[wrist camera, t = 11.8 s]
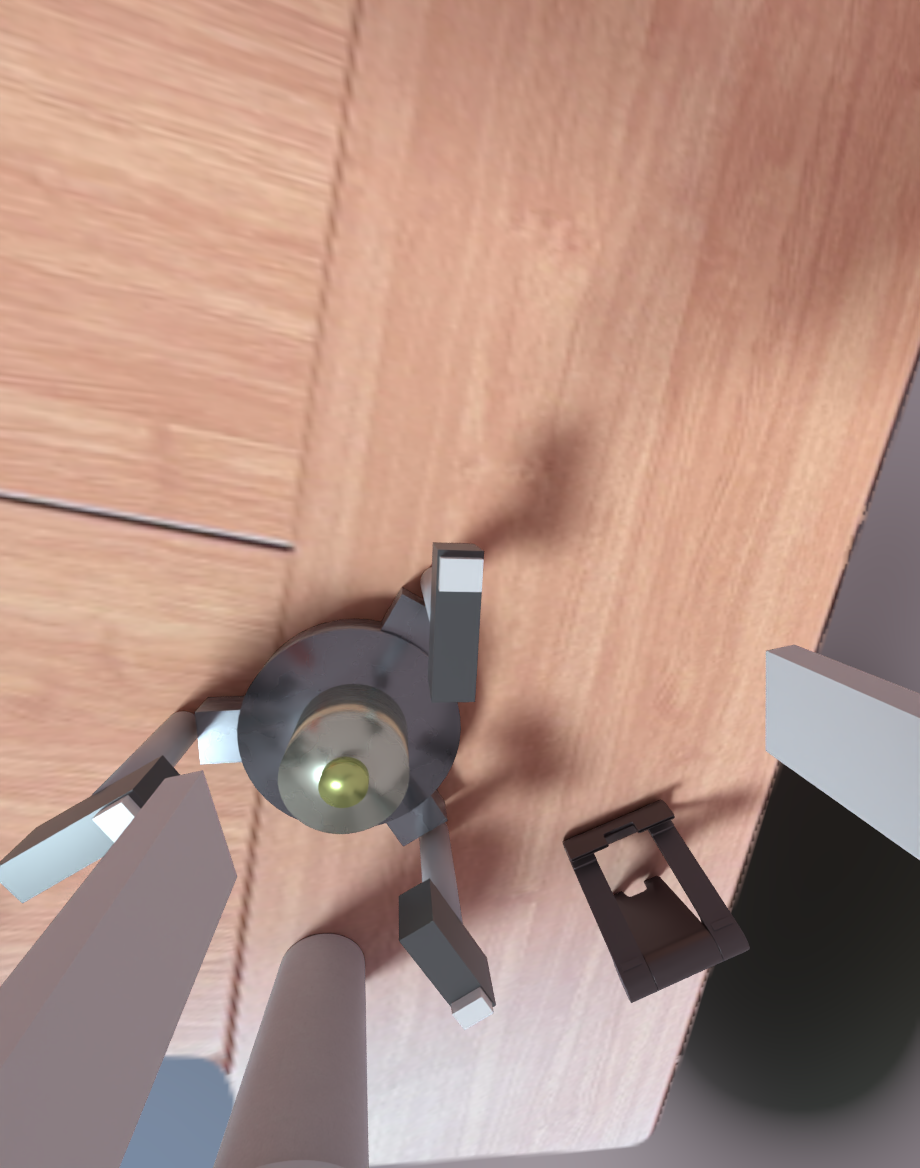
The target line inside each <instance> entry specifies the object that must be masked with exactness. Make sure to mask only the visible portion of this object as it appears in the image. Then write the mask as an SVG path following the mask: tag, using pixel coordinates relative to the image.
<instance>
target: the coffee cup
mask: <svg viewBox="0 0 920 1168" xmlns="http://www.w3.org/2000/svg"><path fill="white" fill-rule="evenodd" d="M213 1168H369V1155H368V1108H367V1053H366V992H365V959H364V955H363V953H362V951H361V949H360V948H359V946H358V945H357V944H356V943H354V942H353V941H352V940H350V939H348V938H346V937H344V936H341V935H336V934H318V935H313V936H310V937H307V938H305V939H302V940H301V941H299V942H297V943H296V944H294V945H293V946H292V947H291V948H290V949H289V950H288V951H287V952H286V954H285V955H284V957H283V959H282V961H281V964H280V967H279V970H278V973H277V976H276V979H275V982H274V985H273V988H272V991H271V994H270V997H269V1000H268V1003H267V1006H266V1009H265V1012H264V1015H263V1019H262V1022H261V1025H260V1028H259V1031H258V1034H257V1037H256V1040H255V1043H254V1046H253V1049H252V1052H251V1055H250V1058H249V1061H248V1064H247V1067H246V1070H245V1073H244V1076H243V1079H242V1082H241V1085H240V1088H239V1091H238V1094H237V1097H236V1100H235V1103H234V1106H233V1109H232V1113H231V1116H230V1119H229V1122H228V1125H227V1128H226V1131H225V1134H224V1137H223V1140H222V1143H221V1146H220V1149H219V1152H218V1155H217V1158H216V1161H215V1164H214V1167H213Z"/></svg>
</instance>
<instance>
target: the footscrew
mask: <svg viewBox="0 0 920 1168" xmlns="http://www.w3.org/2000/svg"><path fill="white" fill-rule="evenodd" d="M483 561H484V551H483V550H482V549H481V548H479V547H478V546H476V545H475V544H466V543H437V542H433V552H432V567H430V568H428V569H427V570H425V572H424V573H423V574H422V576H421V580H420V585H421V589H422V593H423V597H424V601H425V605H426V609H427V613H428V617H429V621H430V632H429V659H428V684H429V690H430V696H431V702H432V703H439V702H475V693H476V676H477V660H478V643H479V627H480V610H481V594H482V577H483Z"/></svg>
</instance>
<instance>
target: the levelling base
mask: <svg viewBox="0 0 920 1168" xmlns="http://www.w3.org/2000/svg"><path fill="white" fill-rule="evenodd" d="M429 632H430V621H429V617H428V613H427V609H426V605H425V601H424V599H422V598H421V597H419V596H417V595H415V594H413V593H411V592H410V591H408V590H406V589H404V588H401V589H400V591H399V593H398V594H397V596H396V598H395V599H394V601H393V603H392V605H391V606H390V608H389V610H388V611H387V613H386V615H385V616H384V618H383V620H382V621H381V622H380V621H374V620H368V619H345V620H337V621H332V622H327V623H323V624H320V625H317V626H314V627H312V628H310V629H308V630H305V631H303V632H301V633H299V634H298V635H296V636H295V637H293V638H292V639H290V640H289V641H287V642H286V643H285V644H284V645H283V646H281V647H280V648H279V649H278V650H277V651H276V652H275V653H274V654H273V656H272V657H271V658H270V659H269V660H268V661H267V663H266V664H265V665H264V667H263V668H262V670H261V671H260V672H259V674H258V675H257V676H256V678H255V679H254V681H253V682H252V684H251V685H250V687H249V689H248V691H247V693H246V695H245V696H230V697H208V698H207V699H206V700H205V701H204V702H203V703H202V705H201V706H200V707H199V708H198V709H197V710H196V711H195V718H196V727H197V737H198V746H199V755H200V764H215V763H233V762H242V763H243V766H244V768H245V770H246V772H247V774H248V776H249V778H250V780H251V781H252V783H253V784H254V786H255V787H256V788H257V790H258V791H259V792H260V793H261V794H262V795H263V796H264V797H265V798H266V800H268V801H269V802H270V803H271V804H272V805H274V806H275V807H276V808H277V809H279V810H281V811H282V812H284V813H285V814H287V815H289V816H291V817H293V818H295V819H297V820H299V821H300V822H302V823H303V824H305V825H307V826H309V827H311V828H313V829H315V830H318V831H322V832H326V833H332V834H349V833H356V832H360V831H364V830H366V829H369V828H372V827H374V826H377V825H381V824H384V823H387V825H388V826H389V828H390V829H391V830H392V832H393V833H394V834H395V836H396V837H397V839H398V840H399V841H400V843H401V844H402V845H403V846H405V845H407V844H408V843H410V842H412V841H413V840H415V839H417V838H419V837H420V836H422V835H424V834H426V833H427V832H429V831H431V830H432V829H434V828H436V827H438V826H439V825H441V824H443V823H445V822H446V821H448V820H447V813H446V807H445V801H444V800H443V798H442V797H441V795H440V794H439V792H438V791H437V788H438V787H439V786H440V784H441V783H442V781H443V780H444V779H445V777H446V776H447V774H448V772H449V770H450V768H451V767H452V764H453V762H454V759H455V757H456V754H457V750H458V746H459V741H460V731H461V726H460V714H459V708H458V703H457V702H439V703H432V702H431V696H430V690H429V684H428V659H429Z"/></svg>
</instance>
